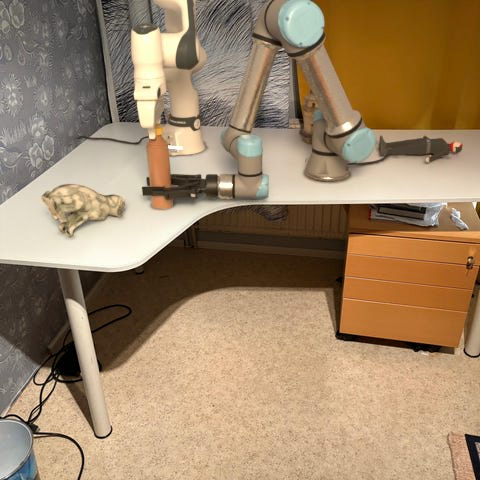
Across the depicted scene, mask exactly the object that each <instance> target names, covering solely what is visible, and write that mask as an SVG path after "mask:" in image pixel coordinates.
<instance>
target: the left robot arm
mask: <svg viewBox="0 0 480 480" xmlns="http://www.w3.org/2000/svg"><path fill="white" fill-rule="evenodd" d="M151 1H152V2H153V3H154V4H155V5H157V6H158V7H160V8H162V9H163V13H164V28H165V30H166V32H161V29H160V27H159V25H157V24H154V23H151V22H144V23H140V24H136V25H135V26H133V27H132V28H131V31H130V54H131V61H132V64H133V69H134V70H133V84H134V90H133V99H134V101H136V109H137V115H138V119H139V120H138V121H139V124H140V126H141V128H142V129H147V133H148V135H146V136H143V137H141V138H140V139H139V140H138V141H136V142H131V141H126V140H121V139H120V140H119V139H115V138H112V137H111V138H110V137H91V136H87V135H80V136H78V137H77V140H79V139H81V138H84V139H88V140H107V141H113V142H118V143H124V144H128V145H139V144H140V143H141V142H142V141H143V140H145V139H149V138H150V139H155V138H156V131H155V125H161V121H162V120H161V119H162V114H163V112H164V111H165V105H166V104H165V96H164V94H166V93H167V94H168V98H169V106H170V107H169V108H170V109H169V110H170V113H168V114H167V115H165V119H166V120H167V123H166V124H164V125H162V127H163V134H161V135H162V136H163V137H164V139H165V140H166V141H167V143H168V146H169V156H174V157H175V156H176V157H177V156H182V155H183V156H186V155H194V154H199V153H201V152H204V151H205V149H206V145H205V142H204V139H203V138H204V137H203V133H202V127H201V126H202V115H201V112H200V100H199V99H200V98H199V97H200V95H199V92H198V91H197V89H195V88H194V85H193V81H192V75H194V74H197V73H199V72H200V71H201V70H202V69H203V68H204V66H205V65H206V63H207V59H208V58H207V53H206V50H205V49H204V48H203V46H202V45H201V42H200V38H199V35H198V30H197V6H196V5H197V4H196V3H197V1H196V0H151Z"/></svg>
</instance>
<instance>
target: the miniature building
mask: <svg viewBox="0 0 480 480" xmlns="http://www.w3.org/2000/svg"><path fill="white" fill-rule="evenodd" d="M302 98H303V105H301V106H302V109H303V114H302V115H303V124H302V127H300V129H299V132H298V134H299V136H300V137H302V139H303V141H305V142H307V143H309V144H312V135H313V118H314V113H315V111H317V110H319V109H320V108H319V106H318V104H317V102H316V100H315V98H314V96H313V94H312V91H311V89H310V88H309V93H307V94H306V95H304V96H303V97H302Z"/></svg>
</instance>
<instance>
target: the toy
mask: <svg viewBox="0 0 480 480" xmlns="http://www.w3.org/2000/svg"><path fill="white" fill-rule="evenodd" d="M448 144H450V145H448ZM378 147H379V156H380V157H384V156H386V155H387V154H391V155H395V156H396V155H417V156H423V155H426V154H430V155H429V156H428V157H425V162H426V163H431V162H434V161H435V160H436V159H439V158H446V157H448V156H449V154H450V152H451V153H455V154H459V153H461V152H462V150H463V147H464V146H463V143H462V142H460V141H452V142H450V143H448V142H447V141H446V140H445V139H444V138H443V137H438V138H429V137H428V136H427V135H420V136H419V138H412V139H404V140H399V141H390V142H386V141H385V139H384V137H383V135H382V134H381V135H379V144H378ZM432 154H433V155H432Z"/></svg>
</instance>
